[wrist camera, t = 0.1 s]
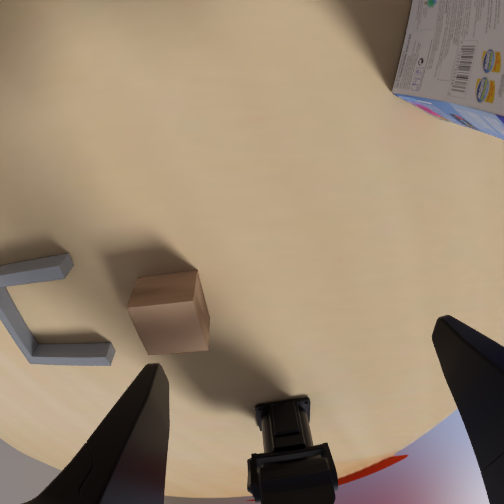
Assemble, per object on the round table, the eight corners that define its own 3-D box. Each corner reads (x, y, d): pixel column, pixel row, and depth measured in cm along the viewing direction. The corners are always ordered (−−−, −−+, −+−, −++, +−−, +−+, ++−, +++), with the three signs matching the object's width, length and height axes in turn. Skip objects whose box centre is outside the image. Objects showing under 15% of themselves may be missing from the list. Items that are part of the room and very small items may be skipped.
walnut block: (209, 316, 27) (208, 350, 23) (155, 322, 27) (148, 355, 23) (197, 269, 24) (193, 300, 21) (138, 276, 24) (126, 307, 21)
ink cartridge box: (444, 123, 19) (598, 190, 7) (388, 96, 18) (560, 142, 6) (466, 20, 15) (613, 26, 2) (412, -14, 14) (564, -49, 1)
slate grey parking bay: (115, 350, 28) (110, 365, 27) (36, 351, 28) (30, 363, 27) (68, 252, 23) (58, 265, 21) (-12, 268, 23) (-22, 279, 21)
